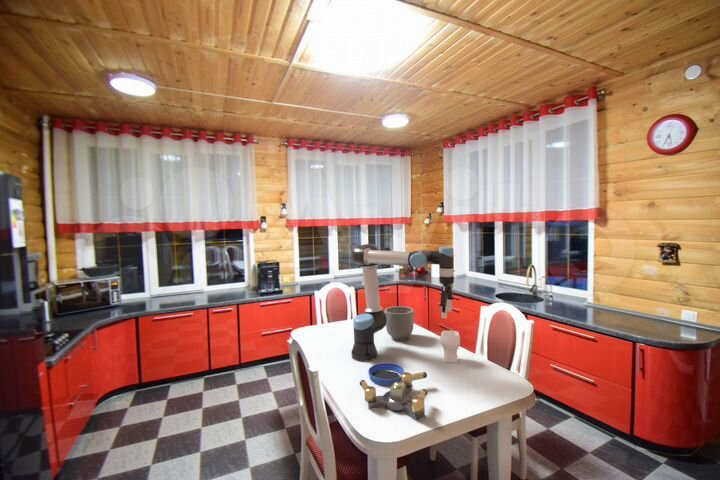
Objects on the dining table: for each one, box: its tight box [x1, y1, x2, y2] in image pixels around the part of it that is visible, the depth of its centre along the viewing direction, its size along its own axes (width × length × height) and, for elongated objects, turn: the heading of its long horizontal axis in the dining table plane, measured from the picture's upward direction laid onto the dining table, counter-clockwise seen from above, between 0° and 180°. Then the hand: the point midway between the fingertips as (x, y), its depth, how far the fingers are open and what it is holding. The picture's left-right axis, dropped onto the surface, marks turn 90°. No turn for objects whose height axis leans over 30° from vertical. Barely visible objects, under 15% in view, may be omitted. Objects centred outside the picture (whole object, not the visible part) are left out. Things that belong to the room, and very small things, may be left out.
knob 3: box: [359, 379, 377, 403], centre depth 137 cm, size 13×5×4 cm, turn 19°
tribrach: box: [367, 382, 426, 421], centre depth 136 cm, size 25×22×9 cm
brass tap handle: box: [400, 371, 428, 387], centre depth 147 cm, size 13×5×4 cm, turn 109°
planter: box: [384, 305, 415, 341], centre depth 211 cm, size 20×20×19 cm
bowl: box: [368, 362, 405, 386], centre depth 158 cm, size 18×18×4 cm
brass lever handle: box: [412, 388, 428, 414], centre depth 128 cm, size 13×5×4 cm, turn 154°
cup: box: [439, 330, 461, 364], centre depth 176 cm, size 11×11×15 cm
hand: (446, 314), depth 171 cm, fingers open, 13 cm apart
